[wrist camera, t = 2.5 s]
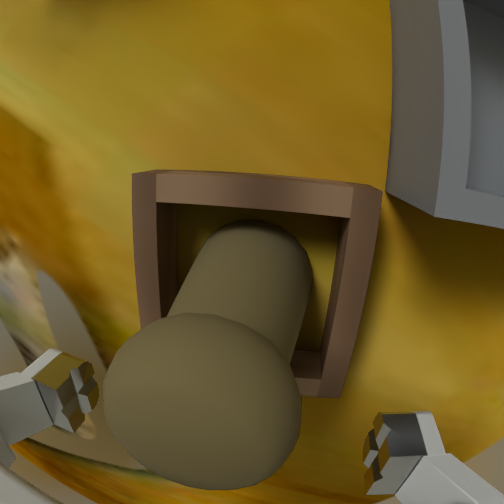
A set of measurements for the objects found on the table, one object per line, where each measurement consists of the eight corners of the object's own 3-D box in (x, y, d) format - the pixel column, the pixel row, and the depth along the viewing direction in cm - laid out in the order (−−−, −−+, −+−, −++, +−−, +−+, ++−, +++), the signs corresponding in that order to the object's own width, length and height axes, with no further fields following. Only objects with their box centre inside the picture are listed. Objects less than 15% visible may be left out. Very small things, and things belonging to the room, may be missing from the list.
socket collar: (163, 346, 18) (146, 370, 16) (156, 169, 15) (132, 173, 13) (336, 369, 17) (339, 398, 15) (369, 185, 14) (382, 191, 12)
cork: (332, 302, 16) (354, 496, 6) (232, 343, 18) (166, 515, 7) (277, 197, 15) (220, 303, 4) (174, 252, 16) (29, 382, 6)
